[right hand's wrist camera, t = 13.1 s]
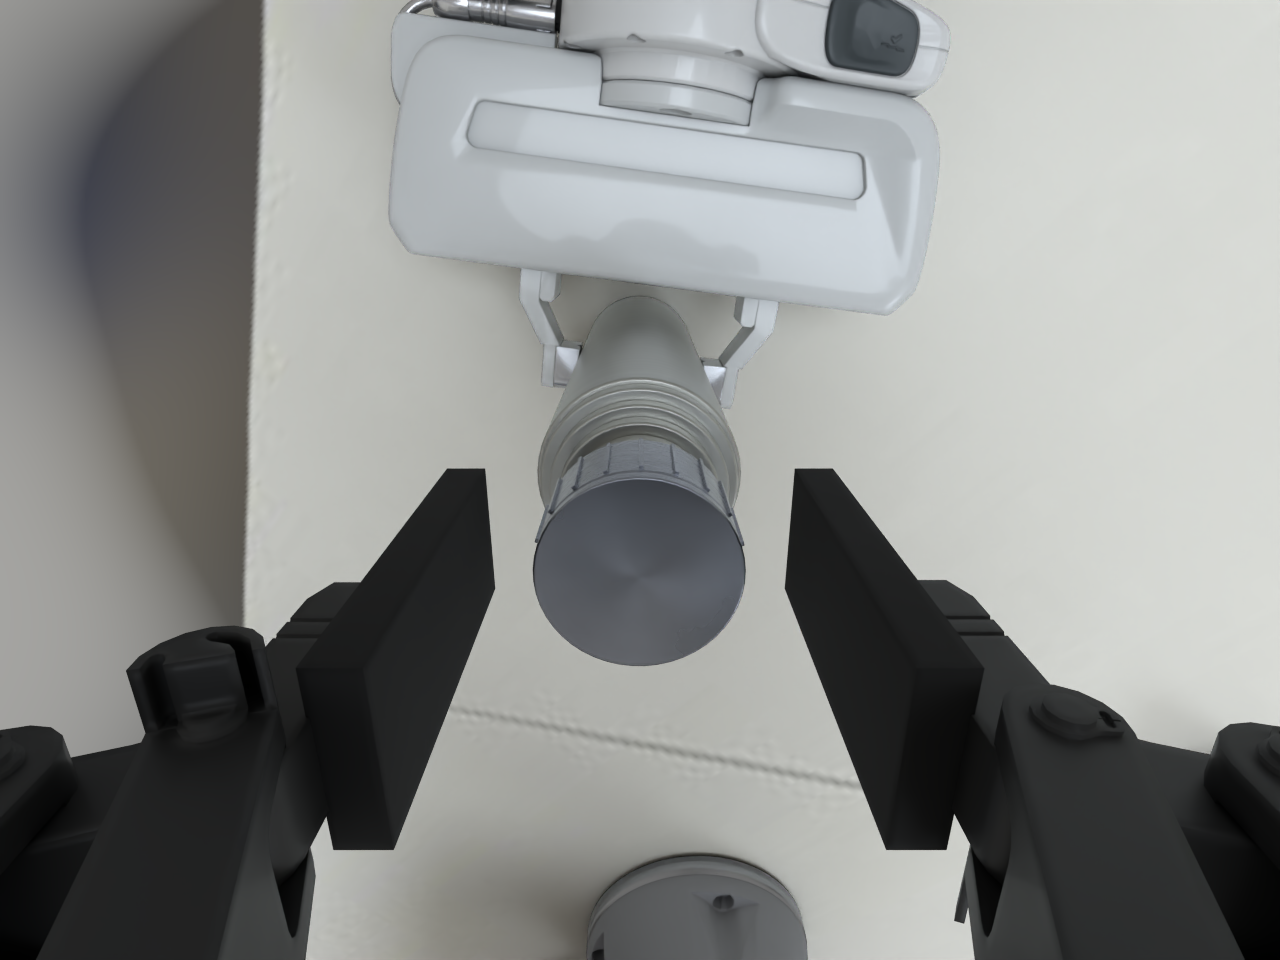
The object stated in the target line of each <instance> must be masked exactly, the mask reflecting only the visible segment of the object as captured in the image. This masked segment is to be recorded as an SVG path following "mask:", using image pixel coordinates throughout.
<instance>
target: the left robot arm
mask: <svg viewBox="0 0 1280 960" xmlns="http://www.w3.org/2000/svg"><path fill="white" fill-rule="evenodd" d="M431 7H433V11H434V14H435V15H436V16H438V17H434V16H428V15H421V14H417V13H418V12H420V11H422V10H424V9H427V8H431ZM476 22H479V23H476ZM484 22H485V23H487V24H483V23H484ZM492 23H493V25H489V24H492ZM557 32H558V33H559V41H558V38H557ZM557 45H558V47H559V49H558V48H557ZM949 47H950V30H949V28H948V26H947V24H946V23H945V21H944V20H943V19H942V18H941V17H939V16H938V15H937V14H935V13H934V12H932V11H931V10H929V9H927V8H926V7H924V6H922V5H920V4H919V3H917V2H915V1H913V0H411V1H410V2H408V3H407V4H406V5H405V6H404V7H403V8H402V9H401V11H400V12H399V14H398V15H397V16H396V18H395V21H394V24H393V27H392V34H391V80H392V87H393V91H394V94H395V97H396V99H397V101H398V103H399V105H400V108H399V114H398V120H397V126H396V132H395V139H394V147H393V155H392V165H391V176H390V189H389V223H390V226H391V228H392V230H393V231H394V233H395V234H396V236H397V237H398V238H399V240H400V241H401V243H402V244H403V246H404V247H405V248H406V250H407V251H408V252H410V253H412V254H416V255H423V256H431V257H439V258H446V259H454V260H462V261H469V262H477V263H485V264H492V265H500V266H508V267H515V268H521V275H520V291H519V299H520V301H521V304H522V306H523V308H524V310H525V312H526V314H527V316H528V318H529V320H530V322H531V324H532V327H533V329H534V331H535V333H536V335H537V337H538V339H539V341H540V343H541V344H544V350H543V363H542V376H541V383H542V386H548V387H557V388H566V387H567V384H568V382H569V380H570V377H571V375H572V373H573V370H574V368H575V366H576V363H577V361H578V359H579V356H580V354H581V352H582V345H583V342H577V341H570V340H564V337H563V335H562V333H561V330H560V328H559V326H558V323H557V321H556V319H555V316H554V314H553V312H552V310H551V307H550V305H549V303H548V302H552V301H553V300H554V299H555V298H556V297H557V296H558V295H560V287H561V277H562V274H569V275H577V276H584V277H592V278H600V279H607V280H615V281H623V282H631V283H638V284H646V285H654V286H661V287H669V288H677V289H684V290H692V291H700V292H707V293H715V294H723V295H730V296H737V298H736V304H735V311H734V318H735V319H736V320H737V321H738V322H739V323H740V324H741V325H742V326H743V327H742V328H741V330H740V331H739V332H738V334H737V335H736V336H735V337H734V339H733V340H732V341H731V343H730V344H729V345H728V346H727V348H726V349H725V350H724V352H723V353H722V354H721V355H720V357H719V359H713V358H703V357H700V361H701V363H702V365H703V368H704V370H705V372H706V374H707V377H708V379H709V381H710V384H711V386H712V388H713V391H714V393H715V395H716V398H717V400H718V402H719V404H720V407H721V408H727V409H730V408H731V406H732V403H733V398H734V392H735V387H736V381H737V376H738V370H739V369H742V368H743V367H744V366H745V365H746V363H747V362H748V361H749V360H750V359H751V357H752V356H753V355H754V354H755V353H756V352H757V350H758V349H759V348H760V347H761V346H762V344H763V343H764V342H765V341H766V340H767V338H768V337H769V336H770V335H771V334H772V333H773V331H774V326H775V321H776V316H777V311H778V306H779V302H784V303H792V304H799V305H807V306H815V307H822V308H830V309H838V310H845V311H853V312H861V313H869V314H876V315H889V314H891V313H893V312H894V311H895V310H896V309H898V308H899V307H900V306H901V305H902V304H903V303H904V302H905V301H906V300H907V299H908V298H909V297H910V296H911V295H912V294H913V293H914V291H915V290H916V287H917V285H918V282H919V278H920V275H921V272H922V268H923V263H924V259H925V255H926V250H927V245H928V241H929V235H930V230H931V225H932V219H933V212H934V206H935V200H936V191H937V183H938V174H939V164H940V147H939V138H938V133H937V129H936V126H935V124H934V121H933V120H932V118H931V116H930V114H929V113H928V112H927V110H926V109H925V108H924V107H923V106H922V105H921V104H919V103H918V102H917V101H915V100H913V99H914V98H916V97H917V96H919V95H921V94H922V93H924V92H925V91H927V90H928V89H929V88H931V87H932V86H933V85H934V84H935V83H936V82H937V81H938V79H939V78H940V76H941V74H942V72H943V69H944V66H945V63H946V60H947V56H948V52H949Z"/></svg>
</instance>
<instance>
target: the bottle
mask: <svg viewBox="0 0 1280 960" xmlns="http://www.w3.org/2000/svg"><path fill="white" fill-rule="evenodd" d="M639 438H643V440H648V441H656V442H661V443H665V444H668V445H671V443H672V444H675V447H677V448H679V449H682V450H684V451H685V452H687V453H689V454H691V455H692V456H694V457H695V458H697V459H699V458H701V459H702V460H703V463H704V465H705V466H706V467H707V468H708V469H709V470H710V471H711V472H712V473H713V475H714V476H715V477H716V479H717V480H718V481H722V483H723V486H724V489H725V492H726V495H727V498H728V501H729V505H730V508H734V505H735V502H736V499H737V497H738V492H739V487H740V477H741V467H740V458H739V453H738V449H737V445H736V442H735V440H734V437H733V435H732V432H731V430H730V428H729V425H728V423H727V421H726V418H725V416H724V414H723V411H722V409H721V407H720V404H719V402H718V400H717V398H716V395H715V393H714V391H713V388H712V386H711V384H710V381H709V379H708V377H707V374H706V372H705V370H704V368H703V365H702V363H701V361H700V358H699V356H698V354H697V351H696V349H695V347H694V344H693V342H692V340H691V338H690V335H689V333H688V331H687V328H686V326H685V324H684V322H683V320H682V319H681V318H680V316H679V315H678V314H677V313H676V312H675V311H674V310H673V309H672V308H671V307H670V306H668V305H667V304H665V303H663V302H662V301H659V300H657V299H654V298H650V297H644V296H634V297H628V298H624V299H621V300H619V301H616V302H615V303H613V304H611V305H610V306H608V307H607V308H606V309H605V310H604V311H603V312H602V313H601V314H600V315H599V316H598V318H597V319H596V321H595V322H594V324H593V326H592V329H591V331H590V333H589V336H588V338H587V340H586V342H585V345H584V347H583V349H582V352H581V354H580V356H579V359H578V361H577V363H576V366H575V368H574V370H573V373H572V375H571V377H570V380H569V382H568V384H567V387H566V389H565V391H564V394H563V396H562V398H561V401H560V403H559V405H558V407H557V410H556V412H555V414H554V417H553V419H552V421H551V424H550V426H549V428H548V431H547V433H546V436H545V438H544V441H543V443H542V446H541V450H540V454H539V460H538V485H539V490H540V495H541V498H542V501H543V504H544V507H545V508H546V505H550V502H551V499H552V496H553V493H554V490H555V487H556V483H557V480H558V479H559V478H561V479H562V478H563V477H564V475H565V474H566V473H567V472H568V470H569V469H570V468H571V467H572V466H573V465H575V464H576V463H577V462H578V458H579V457H581V456H582V457H585V456H586V455H588V454H590V453H591V452H593V451H595V450H597V449H599V448H602V447H604V446H606V445H607V443H609V442H611V444H614V443H618V442H622V441H631V440H639Z"/></svg>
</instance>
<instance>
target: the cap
mask: <svg viewBox="0 0 1280 960" xmlns="http://www.w3.org/2000/svg"><path fill="white" fill-rule="evenodd" d="M535 542H536V543H537V547H536V551H535V555H534V562H533V582H534V587H535V592H536V595H537V598H538V601H539V604H540V606H541V608H542V610H543V612H544V614H545V616H546V617H547V619H548V620H549V622H550V623H551V624H552V626H553V627H554V628H555V629H556V630H557V632H558V633H559V634H560V635H561V636H562V637H563V638H565V639H566V640H567V641H568V642H569V643H571V644H572V645H573V646H575V647H576V648H578V649H579V650H581V651H583V652H585V653H587V654H589V655H591V656H593V657H595V658H598V659H601V660H604V661H607V662H611V663H615V664H621V665H629V666H649V665H658V664H663V663H667V662H672V661H675V660H677V659H680V658H683V657H685V656H688V655H690V654H692V653H694V652H696V651H697V650H699V649H700V648H702V647H704V646H705V645H707V644H708V643H709V642H710V641H712V640H713V639H714V638H715V637H716V636H717V635H718V634H719V633H720V632H721V631H722V630H723V629H724V628H725V626H726V625H727V624H728V622H729V621H730V620H731V618H732V617H733V615H734V613H735V611H736V609H737V607H738V605H739V602H740V600H741V597H742V594H743V589H744V584H745V573H746V569H745V557H744V553H743V549H742V546H744V541H743V538H742V535H741V532H740V529H739V526H738V523H737V520H736V517H735V514H734V511H733V508H730V505H729V501H728V498H727V495H726V492H725V489H724V486H723V483H722V481H718V480H717V479H716V477H715V476H714V475H713V473H712V472H711V471H710V470H709V469H708V468H707V467H706V466H705V465H704V463H703V460H702V459H701V458H699V459H697V458H695V457H694V456H692V455H691V454H689V453H687V452H685V451H684V450H682V449H679V448H677V447H675V444H672V443H671V445H668V444H665V443H661V442H656V441H648V440H643V438H639V440H631V441H622V442H618V443H614V444H611V442H609V443H607V445H606V446H604V447H602V448H599V449H597V450H595V451H593V452H591V453H590V454H588V455H586V456H585V457H582V456H581V457H579V458H578V462H577V463H576V464H575V465H573V466H572V467H571V468H570V469H569V470H568V472H567V473H566V474H565V475H564V477H563V478H562V479H561V478H559V479H558V480H557V483H556V487H555V490H554V493H553V496H552V499H551V502H550V505H546V508H545V511H544V514H543V517H542V520H541V524H540V527H539V530H538V533H537V536H536V539H535Z"/></svg>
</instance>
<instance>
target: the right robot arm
mask: <svg viewBox="0 0 1280 960" xmlns="http://www.w3.org/2000/svg"><path fill="white" fill-rule="evenodd" d="M494 590H495V581H494V569H493V557H492V545H491V533H490V521H489V509H488V498H487V486H486V474H485V469H447V470H446V471H445V472H444V474H443V475H442V476H441V477H440V479H439V480H438V481H437V483H436V484H435V485H434V487H433V488H432V489H431V491H430V492H429V493H428V495H427V496H426V497H425V498H424V500H423V501H422V502H421V504H420V505H419V506H418V508H417V509H416V510H415V512H414V513H413V514H412V516H411V517H410V518H409V519H408V521H407V522H406V523H405V525H404V526H403V527H402V529H401V530H400V531H399V533H398V534H397V535H396V537H395V538H394V539H393V541H392V542H391V543H390V544H389V546H388V547H387V548H386V550H385V551H384V552H383V554H382V555H381V556H380V558H379V559H378V560H377V562H376V563H375V564H374V565H373V567H372V568H371V569H370V571H369V572H368V573H367V575H366V576H365V577H364V579H363V580H362V581H361V582H334V583H333V584H331V585H329V586H328V587H326V588H324V589H323V590H321V591H319V592H318V593H316V594H314V595H313V596H311V597H310V598H308V599H307V600H306V601H305V602H304V603H303V604H302V605H301V607H300V608H299V609H298V610H297V611H296V612H295V614H294V615H293V616H292V617H291V618H290V622H287V623H286V624H285V625H284V626H283V627H282V628H281V630H280V631H279V632H278V633H277V637H276V638H273V639H272V640H271V641H270V642H269V643H268V645H267V646H266V647H265V644H264V639H263V636H261V635H260V634H259V633H257V632H256V631H255V630H253V629H250V628H244V627H239V626H221V627H210V628H206V629H201V630H197V631H193V632H188V633H185V634H182V635H180V636H177V637H175V638H172V639H170V640H167V641H165V642H162V643H160V644H158V645H157V646H155V647H154V648H152V649H150V650H149V651H147V652H145V653H144V654H142V655H141V656H139V657H138V658H137V659H136V660H135V661H134V663H133V664H132V665H131V666H130V667H129V668H128V669H127V670H126V672H127V675H128V679H129V682H130V685H131V688H132V691H133V695H134V698H135V701H136V704H137V707H138V710H139V714H140V717H141V720H142V723H143V726H144V730H145V733H146V734H145V736H144V738H143V740H142V742H141V743H138V744H134V745H130V746H125V747H120V748H115V749H110V750H106V751H101V752H96V753H91V754H86V755H82V756H77V757H72V758H71V757H70V755H69V752H68V749H67V746H66V744H65V741H64V738H63V736H62V735H61V734H60V733H58V732H57V731H56V730H54V729H53V728H51V727H41V726H24V727H18V728H11V729H5V730H0V960H305V958H306V950H307V942H308V934H309V926H310V918H311V910H312V901H313V893H314V885H315V877H316V875H315V868H314V861H313V857H312V852H311V848H310V846H311V845H312V843H313V841H314V839H315V837H316V835H317V833H318V831H319V829H320V827H321V825H322V824H323V822H324V820H325V818H326V817H327V821H328V826H329V831H330V836H331V840H332V845H333V850H394V848H395V845H396V843H397V840H398V838H399V835H400V832H401V830H402V827H403V825H404V822H405V820H406V817H407V814H408V812H409V809H410V807H411V804H412V801H413V799H414V796H415V794H416V791H417V789H418V786H419V783H420V781H421V778H422V776H423V773H424V771H425V768H426V765H427V763H428V760H429V758H430V755H431V753H432V750H433V747H434V745H435V742H436V740H437V737H438V734H439V732H440V729H441V727H442V724H443V722H444V719H445V716H446V714H447V711H448V709H449V706H450V704H451V701H452V698H453V696H454V693H455V691H456V688H457V686H458V683H459V680H460V678H461V675H462V673H463V670H464V667H465V665H466V662H467V660H468V657H469V655H470V652H471V649H472V647H473V644H474V642H475V639H476V637H477V634H478V631H479V629H480V626H481V624H482V621H483V619H484V616H485V613H486V611H487V608H488V606H489V603H490V600H491V598H492V595H493V593H494ZM785 590H786V593H787V595H788V598H789V601H790V603H791V606H792V608H793V611H794V613H795V616H796V619H797V621H798V624H799V626H800V629H801V631H802V634H803V637H804V639H805V642H806V644H807V647H808V649H809V652H810V655H811V657H812V660H813V662H814V665H815V667H816V670H817V673H818V675H819V678H820V680H821V683H822V686H823V688H824V691H825V693H826V696H827V698H828V701H829V704H830V706H831V709H832V711H833V714H834V716H835V719H836V722H837V724H838V727H839V729H840V732H841V734H842V737H843V740H844V742H845V745H846V747H847V750H848V753H849V755H850V758H851V760H852V763H853V765H854V768H855V771H856V773H857V776H858V778H859V781H860V783H861V786H862V789H863V791H864V794H865V796H866V799H867V801H868V804H869V807H870V809H871V812H872V814H873V817H874V820H875V822H876V825H877V827H878V830H879V832H880V835H881V838H882V840H883V843H884V845H885V848H886V850H947V845H948V840H949V836H950V831H951V826H952V821H953V817H954V814H955V816H956V818H957V820H958V822H959V824H960V826H961V828H962V829H963V831H964V833H965V835H966V837H967V839H968V841H969V843H970V848H969V852H968V857H967V861H966V866H965V870H964V875H963V879H962V883H961V888H960V892H959V897H958V901H957V906H956V913H955V919H954V921H957V922H960V923H964V922H965V918H966V914H967V909H968V908H969V916H970V924H971V932H972V940H973V948H974V956H975V960H1280V727H1279V726H1271V725H1265V724H1258V723H1252V722H1249V723H1238V724H1230V725H1228V726H1227V727H1225V728H1224V729H1222V730H1221V731H1220V732H1219V733H1218V735H1217V738H1216V741H1215V744H1214V746H1213V749H1212V752H1211V754H1210V755H1209V754H1205V753H1200V752H1195V751H1190V750H1185V749H1180V748H1175V747H1171V746H1166V745H1161V744H1156V743H1151V742H1147V741H1143V740H1139V739H1137V737H1136V734H1135V732H1134V731H1133V730H1132V729H1131V727H1130V726H1129V725H1128V724H1127V722H1126V721H1125V720H1124V718H1123V717H1122V716H1120V715H1119V714H1118V713H1116V712H1115V711H1113V710H1112V709H1111V708H1109V707H1108V706H1107V705H1105V704H1104V703H1102V702H1100V701H1098V700H1096V699H1094V698H1092V697H1089V696H1087V695H1085V694H1083V693H1081V692H1079V691H1075V690H1071V689H1067V688H1064V687H1060V686H1056V685H1050V684H1049V683H1048V681H1047V680H1046V679H1045V678H1044V677H1043V676H1042V675H1041V673H1040V672H1039V671H1038V670H1037V669H1036V668H1035V667H1034V665H1033V664H1032V663H1031V662H1030V661H1029V660H1028V659H1027V657H1026V656H1025V655H1024V654H1023V653H1022V652H1021V651H1020V649H1019V648H1018V647H1017V646H1016V645H1015V644H1014V643H1013V641H1012V640H1011V639H1010V638H1009V637H1008V636H1004V631H1003V630H1002V629H1001V628H1000V627H999V625H998V624H997V623H996V622H995V621H994V620H990V615H989V614H988V613H987V612H986V611H985V609H984V608H983V607H982V606H981V605H980V604H979V603H978V601H977V600H976V599H975V598H974V597H973V596H972V595H970V594H968V593H967V592H965V591H963V590H962V589H960V588H958V587H957V586H955V585H953V584H952V583H950V582H948V581H947V580H917V579H916V577H915V576H914V575H913V573H912V572H911V571H910V569H909V568H908V567H907V565H906V564H905V563H904V562H903V560H902V559H901V558H900V556H899V555H898V554H897V552H896V551H895V550H894V548H893V547H892V546H891V544H890V543H889V542H888V541H887V539H886V538H885V537H884V535H883V534H882V533H881V531H880V530H879V529H878V527H877V526H876V525H875V523H874V522H873V521H872V520H871V518H870V517H869V516H868V514H867V513H866V512H865V510H864V509H863V508H862V506H861V505H860V504H859V502H858V501H857V500H856V498H855V497H854V496H853V495H852V493H851V492H850V491H849V489H848V488H847V487H846V485H845V484H844V483H843V481H842V480H841V479H840V477H839V476H838V475H837V474H836V472H835V471H834V470H833V469H795V474H794V486H793V497H792V509H791V521H790V533H789V545H788V557H787V569H786V581H785ZM586 953H587V960H808V955H807V940H806V935H805V931H804V926H803V922H802V918H801V914H800V911H799V908H798V906H797V904H796V902H795V901H794V899H793V898H792V896H791V895H790V893H789V892H788V891H787V890H786V889H785V888H784V887H783V886H782V885H781V884H780V883H779V882H778V881H776V880H775V879H774V878H772V877H771V876H770V875H768V874H766V873H765V872H763V871H761V870H759V869H757V868H755V867H753V866H750V865H747V864H745V863H742V862H738V861H735V860H731V859H726V858H720V857H712V856H686V857H677V858H671V859H666V860H662V861H658V862H655V863H652V864H649V865H646V866H644V867H641V868H639V869H637V870H635V871H633V872H631V873H629V874H627V875H626V876H624V877H623V878H621V879H620V880H618V881H617V882H616V883H615V884H613V885H612V886H611V887H610V888H609V889H608V890H607V891H606V892H605V893H604V894H603V896H602V897H601V898H600V900H599V901H598V903H597V904H596V906H595V908H594V910H593V912H592V915H591V917H590V921H589V926H588V938H587V952H586Z"/></svg>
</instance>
